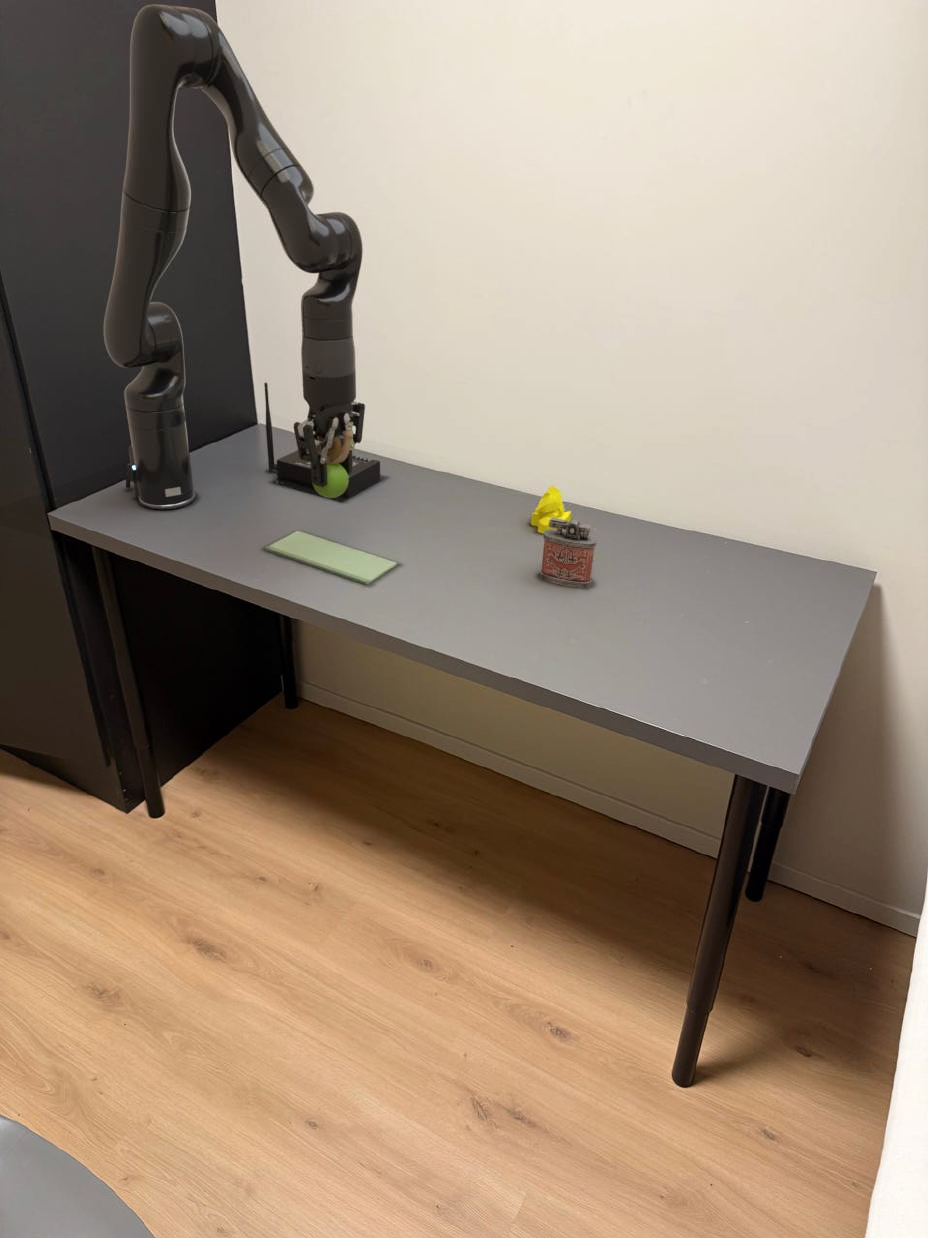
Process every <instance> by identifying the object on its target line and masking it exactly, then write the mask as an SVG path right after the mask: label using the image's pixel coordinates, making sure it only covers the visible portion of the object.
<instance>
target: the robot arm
mask: <svg viewBox="0 0 928 1238" xmlns="http://www.w3.org/2000/svg"><path fill="white" fill-rule="evenodd" d="M129 47H130V48H129V121H128V123H129V124H128V136H127V137H128V138H127V151H126V162H125V170H124V171H125V172H124V179H123V185H122V194H121V205H120V221H119V231H118V241H117V249H116V257H115V264H114V271H113V275H112V281H111V284H110V285H111V286H110V290H109V295H108V299H107V303H106V309H105V312H104V313H105V314H104V319H103V341H104V345H105V348H106V351H107V353H108V356H109V357H110V359H111V360H112V361H113V363H115V365H117V366H118V367H121V368H124V369H138V368H141V369H140V372H139V373H138V374H137V376H136V377H135V378H134V379H133V380H132V381H131V382H130V383H128V384H127V386H126V387H125V389H124V392H123V395H124V403H125V410H126V416H127V423H128V429H129V436H130V442H131V443H130V444H131V445H129V447H128V454H129V463H126V469H127V475H126V478H125V488H127V489H130V488H131V482H132V483H133V487H134V493H135V499H137V500H139V503H140V505H141V506H143V507H145V508H148V509H152V510H172V509H173V510H174V509H178V508H179V509H180V508H182V507H185V506H187V505H189V504H191V503H193V501H195V499H196V494H195V490H194V481H193V472H192V463H191V455H190V447H189V438H188V437H189V436H188V429H187V421H186V413H185V405H184V392H185V387H186V368H185V367H186V365H185V353H184V352H185V350H184V349H185V348H184V340H183V339H184V338H183V332H182V328H181V324H180V323H179V319H178V317H177V316H176V313H175V312H174V311H173V309H172V308H171V307H170V306H168V305H167V304H166V303H164V302H161V301H151V300H152V297H153V294H154V291H155V289H156V287H157V284H158V283H159V281H160V279H161V278H162V277H163V275H164V273H165V272H166V271H167V268H168V267H169V265H170V264H171V262H172V261H173V260H174V258H175V256H176V255H177V253H178V252H179V250H180V248H181V246H182V245H183V243H184V239H185V236H186V233H187V227H188V221H189V214H190V207H191V200H192V190H191V189H192V188H191V183H190V178H189V176H188V173H187V170H186V167H185V165H184V162H183V160H182V157H181V155H180V153H179V149H178V146H177V143H176V140H175V134H174V118H175V106H176V100H177V95H178V91H179V89H182V90H183V89H184V90H185V89H186V90H188V89H190V90H191V89H192V90H198V89H200V90H201V91H202V92H203V93H204V94H205V95H206V96H207V97H208V98H209V99H210V100H211V101H212V102H213V103H214V104H215V105H216V107H217V108H218V110H219V112H221V114H222V116H223V117H224V119H225V120H224V121H225V122H226V126H227V129H228V133H229V141H230V145H231V146H230V147H231V151H232V155H233V158H234V161H235V164H236V166H237V168H238V169H239V172H240V173H241V175H242V176H243V178H244V179H245V181H246V182H247V184H248V186H249V187H250V188H251V190H252V191H253V193H255V195H256V196H257V197H258V199H259V201H261V204H263V206H264V207H265V208H266V210H267V212H268V214H269V216H270V217H269V218H270V219H271V222H272V226H273V228H274V230H275V232H276V234H277V237H278V239H279V242H280V244H281V246H282V249H283V251H284V253H285V255H286V256H287V258H288V259H289V260H290V262H292V264H293V265H294V266H295V267H297V268H298V269H300V270H301V271H302V272H304V273H306V274H307V273H308V274H317V279H316V282H315V283H314V285H312V287H310V288H309V289H308V290H306V291H305V292H303V294H302V296H301V299H300V316H301V320H300V321H301V348H300V351H301V353H300V355H301V375H302V376H301V377H302V395H303V396H302V397H303V399H304V401H305V402H306V403H307V405H308V412H307V419H305V420H304V421H302V422H299V421H296V422H294V424H293V432H294V437H295V442H296V446H297V450H298V452H299V457H300V459H301V460H304V461H308V462H310V463H311V473H312V474H311V476H312V482H313V484H314V485H316V486H320V487H324V486H326V485H327V463H325V461H326V457H327V453H328V449H330V448H331V447H332V443H333V438H335V437H336V436H338V437H339V438H340V440H341V442H342V446H343V443H344V432H345V431H346V430H350V427H349V426H348V425H349V424H350V422H353V426H352V427H351V430H352V432H353V437H352V440H351V446H350V450H349V453H348V456H347V458H346V459H345V460H344V461H343V462H341V463H338V464H340V465H341V466H342V467H343V468H344V469H345V470H346V472H347V474H350V473H352V466H353V462H352V456H353V451H354V449H355V447H356V444H360V443H361V442H362V440H363V432H364V422H365V412H366V404H364V403H363V402H358V401H356V399H357V372H356V371H357V370H356V369H357V368H356V364H357V363H356V346H355V340H354V313H353V303H354V299H355V295H356V292H357V287H358V281H359V278H360V272H361V267H362V262H363V253H364V252H363V251H364V245H363V239H362V234H361V231H360V228H359V226H358V224H357V223H356V221H355V220H354V218H353V217H352V216H350V215H349V214H347V213H345V212H341V211H331V212H323V213H316V214H315V213H314V212H313V211H312V210H311V209H310V207H309V205H310V203H311V202H312V200H313V198H314V195H315V187H314V183H313V181H312V179H311V177H310V175H309V174H308V172H307V171H306V170H305V168H304V166H302V164H301V163H300V161H299V160H298V159H297V158H296V156H295V154H294V153H293V151H292V150H291V149H290V148H289V147H288V145H287V144H286V142H285V141H284V139H283V138H282V137H281V135H280V134H279V132H278V131H277V129H276V128H275V126H274V125H273V123H272V121H271V120H270V118H269V116H268V115H267V113H266V111H265V110H264V108H263V106H262V104H261V103H260V101H259V98H258V96H257V95H256V93H255V90H254V89H253V87H252V84H251V83H250V81H249V79H248V78H247V75H246V74H245V72H244V70H243V68H242V66H241V64H240V62H239V60H238V58H237V57H236V54H235V53H234V50H233V49H232V47H231V45H230V42H229V41H228V39H227V37H226V36H225V34H224V32H223V31H222V29H221V28H220V26H219V25H218V23H217V22H216V21H215V20H214V18H213V17H212V16H211V15H210V14H208V13H207V12H205V11H203V10H201V9H198V8H193V7H188V6H179V5H177V6H176V5H170V4H169V5H166V4H155V3H154V4H147V5H145V6H143V7H142V8H141V9H140V10H139V11H138V13H137V14H136V16H135V18H134V22H133V25H132V29H131V35H130V46H129ZM353 427H355V431H354V430H353ZM354 432H355V433H354ZM317 436H318V437H320V438H324V439H325V440H324V441H319V440H318V439H317ZM318 446H320V447H321V449H320V454H317V447H318ZM306 449H308V451H309V452H307V450H306Z"/></svg>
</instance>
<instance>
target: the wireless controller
mask: <svg viewBox="0 0 928 1238" xmlns="http://www.w3.org/2000/svg"><path fill="white" fill-rule="evenodd" d="M263 385H264V399H265V435H266V448H267V462H268V464H267V465H268V470H269V471H273V470H274V471H277V479H276V480H274V481H272V483H273V484H274V485H279V486H282V487H285V488H290V489H293V490H297V491H301V492H304V493H308V494H312V495H315V496H318V497H322V498H324V497H323V496H321V495H320V494H319V493H318V492H317V491H316V490H315V488H314V486H313V482H312V476H311V474H312V473H311V463H310V462H308V461H304V460H301V459H300V457H299V452H298V449H297V450H295V451H293V452H291V453H288V454H286V455H284V456H282V457H280V458H277V459H276V463H275V453H274V452H275V451H274V436H273V435H274V434H273V423H272V417H271V411H270V409H271V408H270V402H269V401H270V399H269V389H268V388H269V387H268V386H269V385H268V382H264V383H263ZM306 450H307V452H309V451H308V449H306ZM317 454H318V453H317ZM352 462H353V466H352V473H350V474H348V478H349V482H348V487H347V489H346V490H345V492H344V493H343V494H342V495H340V496H338V497H335V498H328V499H330V500H333V501H337V502H340V503H341V502H342V503H343V502H345V501H346V500H349V499H350V498H352V497H353V496H355V495H358V494H359V493H361V492H362V491H364V490H366V489H368V488H370V487H371V486H373V485H375V484H376V483H378V482H380V481H382V480H383V479H385V477H384V476H381V460H376V459H370V460H369V458H367V459H365V458H364V457H362V458H361V457H360V456H358V457H357V456H356V455H352Z"/></svg>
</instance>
